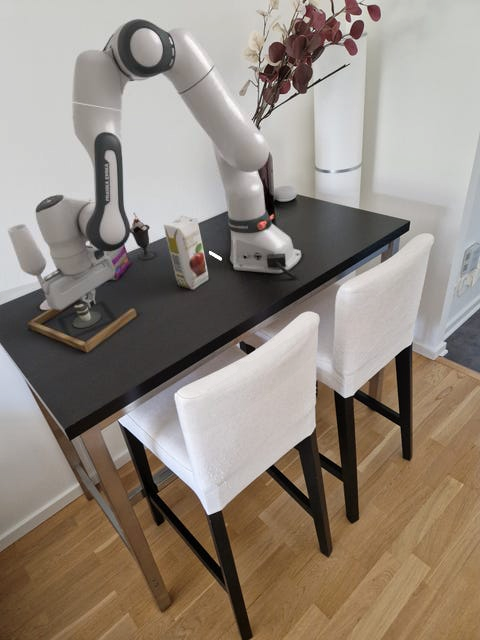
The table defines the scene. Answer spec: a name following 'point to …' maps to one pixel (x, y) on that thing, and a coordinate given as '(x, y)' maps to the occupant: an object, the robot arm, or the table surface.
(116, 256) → the candy bar box
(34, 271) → the champagne flute
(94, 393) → the table surface
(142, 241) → the sundae
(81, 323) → the grey round stand
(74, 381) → the table surface
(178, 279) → the juice carton
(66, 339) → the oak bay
